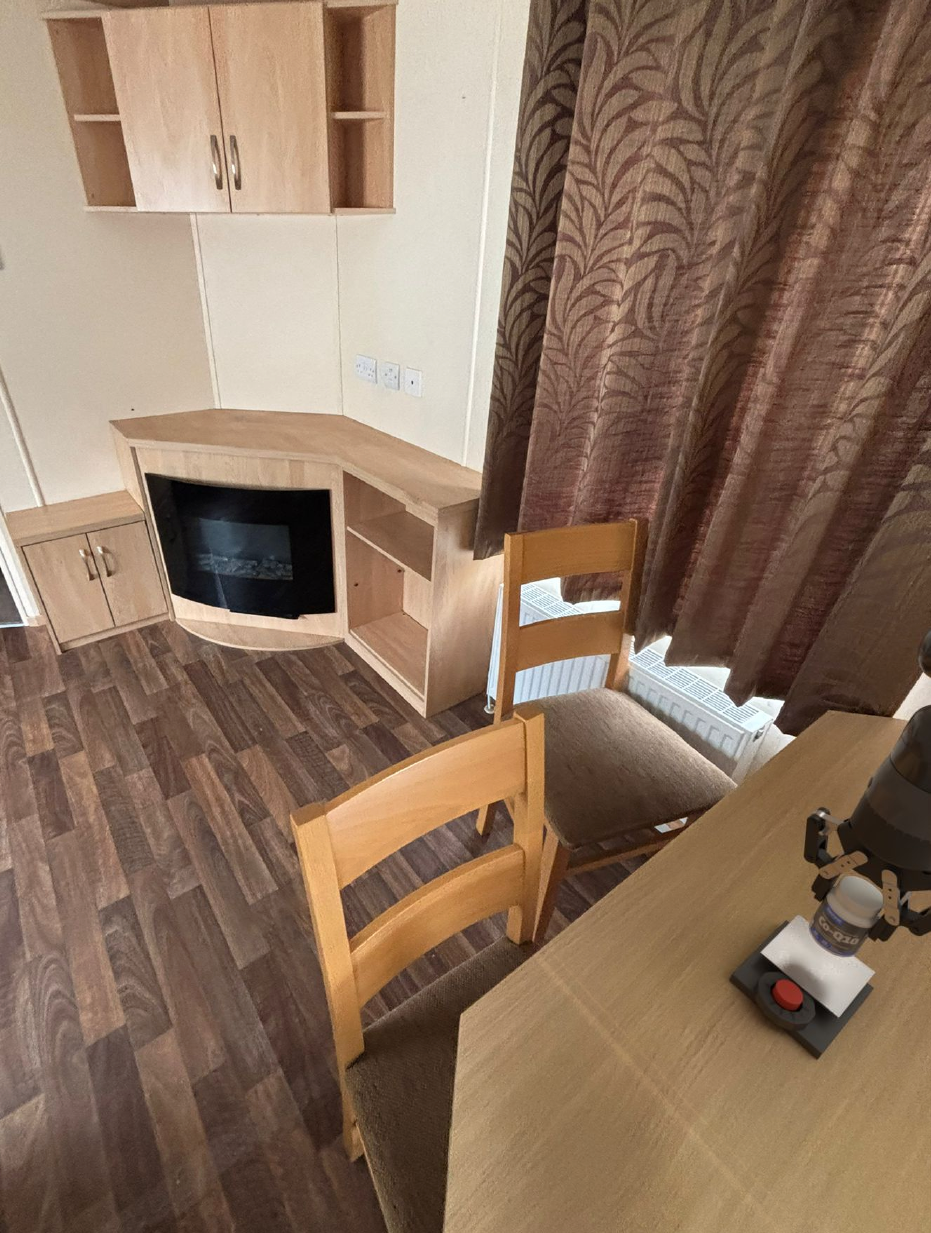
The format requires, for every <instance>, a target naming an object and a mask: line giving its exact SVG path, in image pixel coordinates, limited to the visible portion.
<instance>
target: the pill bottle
mask: <svg viewBox="0 0 931 1233" xmlns="http://www.w3.org/2000/svg"><path fill="white" fill-rule="evenodd" d="M884 907H885V904H884V903H883V893H881V891H880V890H879V889H878V888H877V886H875V885H873V884H872V883H871V882H869V881H867V880H865V879H863V878H861V877H857V876H854V875H847V876H843V877H842V878H841V879H839V881H838V883H837V884H836V885H834V886H833V887H832V888H831V889H830V890H829V891H828V892H827V894H826V896H825V897H824V899H823V900H822V901H821V902H820V904H819V906H818V907H817V909H816V911H815V912H814V914H813V916H812V917H811V919H810V920H809V922H810V923H809V931H810V934H811V936H812V937H813V939H814V940H815V941H816V943H817V944H818V945H819V946H821V947H822V948H823V949H825V950H826V951H828V952H829V953H831V954H833V955H835V956H839V957H851V956H855V955H856V954H857V953H858V952H859V951H860V949H861V947H862V946H863V945H864V943H865V942H866V941H867V940H868V939H869V937H868V935H869V934H870V932H871V931H872V929H873V928H874V926H875V925H876V923H877V922H878V920H879V919H880V917H881V915H880V913H881V911H882V910H883V908H884Z"/></svg>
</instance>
